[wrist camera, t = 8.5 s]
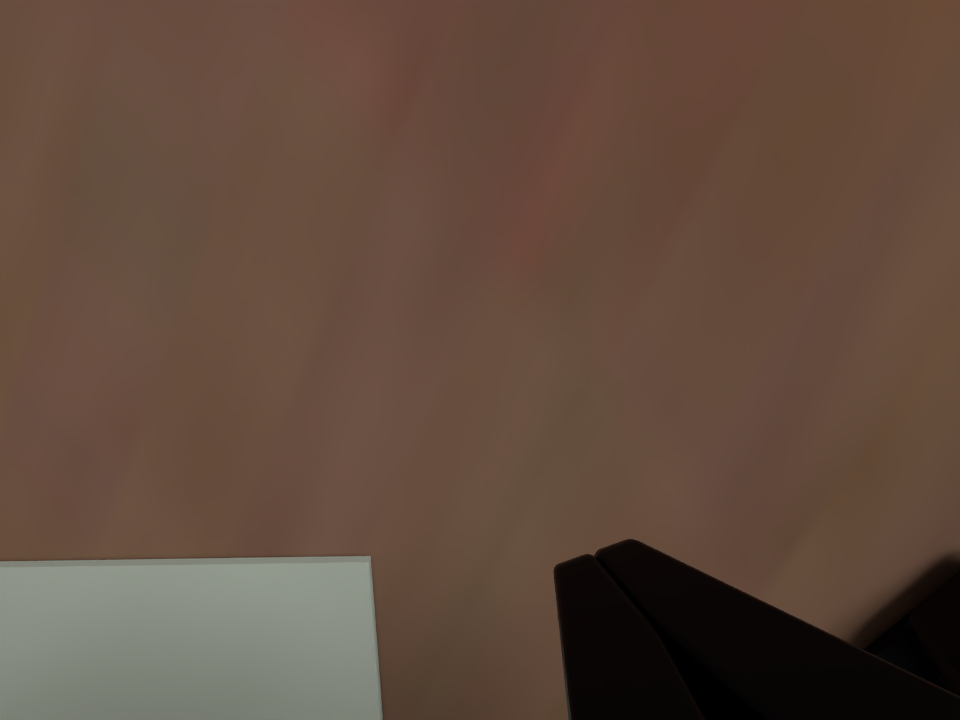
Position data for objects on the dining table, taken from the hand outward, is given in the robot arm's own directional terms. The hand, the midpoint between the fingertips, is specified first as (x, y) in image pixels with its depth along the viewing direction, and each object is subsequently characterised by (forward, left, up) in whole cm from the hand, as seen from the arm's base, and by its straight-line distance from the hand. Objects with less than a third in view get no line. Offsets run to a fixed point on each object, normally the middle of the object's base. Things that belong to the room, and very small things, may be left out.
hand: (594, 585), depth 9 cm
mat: (-1, +15, -12) cm, 19 cm away
